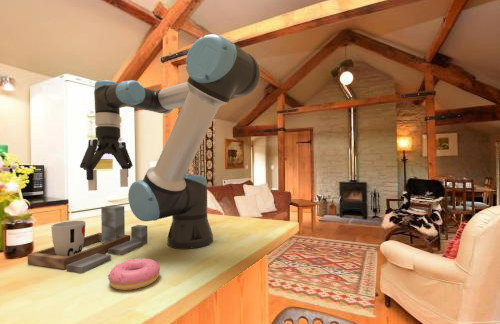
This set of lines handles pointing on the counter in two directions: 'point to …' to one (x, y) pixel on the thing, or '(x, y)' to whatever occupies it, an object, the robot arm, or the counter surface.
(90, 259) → the broken strip
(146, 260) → the doughnut
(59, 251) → the cup
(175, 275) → the counter surface
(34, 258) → the wooden serving tray
